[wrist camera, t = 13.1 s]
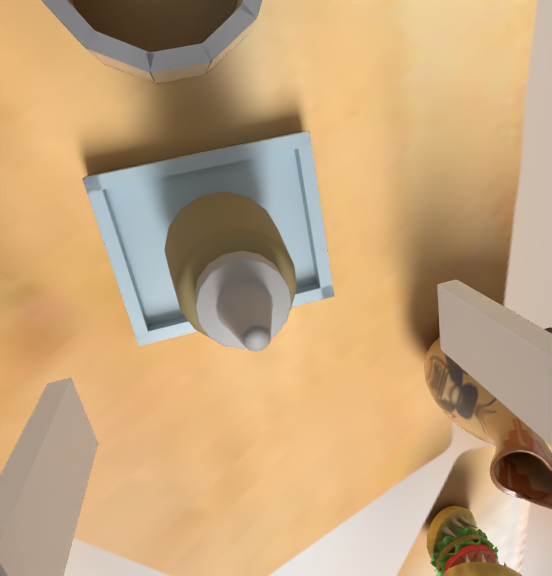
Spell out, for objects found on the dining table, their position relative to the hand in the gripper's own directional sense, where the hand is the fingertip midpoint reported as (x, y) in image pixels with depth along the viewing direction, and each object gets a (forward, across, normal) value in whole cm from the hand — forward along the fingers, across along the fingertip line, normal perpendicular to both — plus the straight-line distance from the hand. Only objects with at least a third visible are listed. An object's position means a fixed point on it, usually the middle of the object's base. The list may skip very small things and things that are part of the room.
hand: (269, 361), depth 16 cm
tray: (+21, 0, 0) cm, 21 cm away
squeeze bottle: (+21, 0, 0) cm, 21 cm away
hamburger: (+21, +17, -38) cm, 47 cm away
